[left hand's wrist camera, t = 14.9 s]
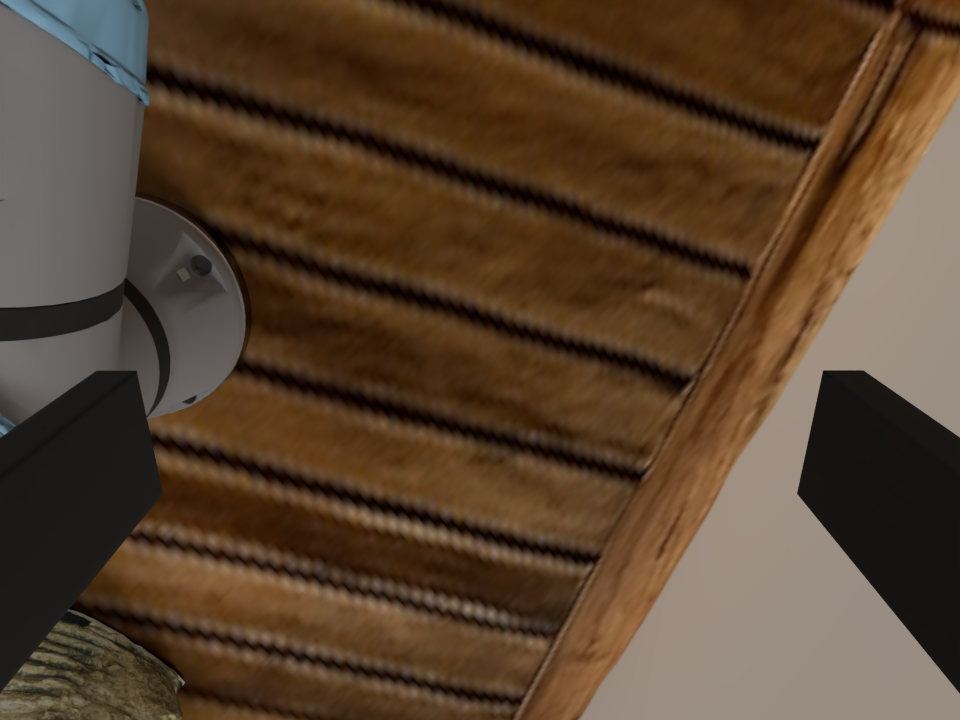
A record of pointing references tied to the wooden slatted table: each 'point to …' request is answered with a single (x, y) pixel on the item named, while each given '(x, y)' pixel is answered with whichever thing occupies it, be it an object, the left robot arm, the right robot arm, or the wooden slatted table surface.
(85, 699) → the fossil
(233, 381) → the wooden slatted table surface
